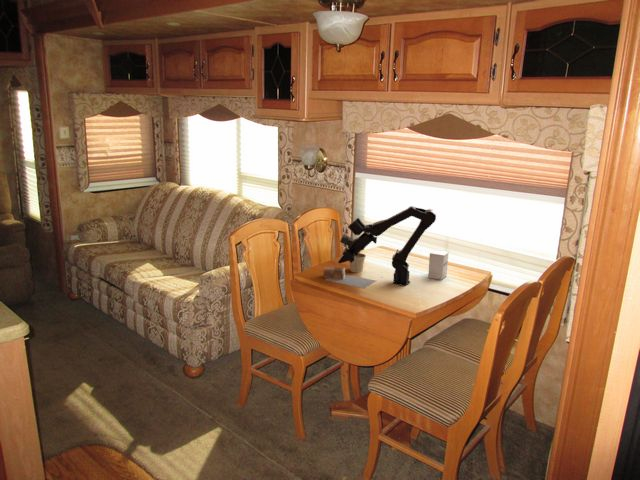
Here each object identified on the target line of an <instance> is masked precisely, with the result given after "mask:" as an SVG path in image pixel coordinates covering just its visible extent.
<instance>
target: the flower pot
mask: <svg viewBox="0 0 640 480" xmlns="http://www.w3.org/2000/svg"><path fill="white" fill-rule="evenodd" d="M354 255H355V254H354ZM366 257H367V255H366V253H361V252H359V253H358V255H357V256H356V255H355V260H354V261H353V262H352V263H351V262H350V261H348V262H349V263H348V264H349V269H350V270H349V271H350V272H351V273H362V272H363V269H364V266H365V265H364V263H365V259H366Z"/></svg>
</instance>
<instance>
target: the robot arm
mask: <svg viewBox="0 0 640 480" xmlns="http://www.w3.org/2000/svg"><path fill="white" fill-rule="evenodd" d="M411 217H413V218H416V219H418V220H420V221H419V222H418V223H419V224H418V225H417V226H416V228H415V229H414V231H413V233H412V234H411V236H410V237H409V238H408V240H407V242H406V243H405V244H404V246H403V247H402V248H401V249H400V250H399V249H397V248H396V252H395V253H394V254H392V258H391V260H392V261H391V266H392V268H393V269H394V273H393V281H392V284H394V285H397V286H398V285H400V286H404V287H406V286H407V285H409V284H410V283H411V281H410V270H409V266H410V265H409V263H408V262H407V259H408V256H409V254H410V253H411V252H412V251H413V248H415V245H416V244H417V243H418V242H419V240H420V238H421V237H422V236H423V234H424V233H425V232H426V230H427V229H429V228H430V227H431V226H432V225H433V224H434V223H435V222H436V221H437V213H436V211H435V210H434V209H431V208H429V209H424V208H421V207H420V208H419V207H415V206H413V205H410V206H409V207H408V208H406V209H405V210H402V211H400V212H398V213H396V214H394V215H392V216H391V217H388V218H387V219H382V220H378V221H375V222H373V223H371V224H370V223H368V224H365V223H363V221H362V220H361V218H359V217H357V218H355V220H353V221H352V222H350V224H349V225H347V228H348V229H349V230H350V231H351V233H352V234H354V236H358V237H357V238H352V237H351V236H349V235H347V234H343V235H342V236H341V239H340V241H339V243H341V244H344V245H346V246H347V247H345V248H344V249H343V252H342V255H341V257H340V259H339V260H338V264H343V263H346V262H349V261H350V262H351V263H352V262H353V261H354V260H355V255H356V256H357V255H358V253H361V252H362V251H364V250H365V248H366V247H367V246H368V245H370V244H371V243H372V242H373V243H374V244H377V242H378V240H377V239H378V237H379V236H381V235H383V234H384V233H385V232H386V231H387V230H388V229H390V228H391V227H393V226H395V225H397V224H399V223H400V222H403V221H405V220H407V219H409V218H411ZM354 254H355V255H354Z"/></svg>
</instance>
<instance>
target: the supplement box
mask: <svg viewBox="0 0 640 480" xmlns="http://www.w3.org/2000/svg"><path fill="white" fill-rule="evenodd" d="M428 260H429V261H428V262H429V263H428V273H427V275H428V276H427V277H428V278H430V279H434V280H441V281H442V280H443V279H445V278H446V277H447V275H448V265H449V264H448V263H449V252H448V251H442V250H433V251H432V252H430V253H429V259H428Z"/></svg>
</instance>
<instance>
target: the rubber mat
mask: <svg viewBox="0 0 640 480" xmlns="http://www.w3.org/2000/svg"><path fill="white" fill-rule="evenodd" d="M324 281H327V282H333V283H336V284H342V285H347V286H351V287H356V288H360V289H365V288H367V287H369V286H370V285H372V284H374V283H376V282H377V280H374V279H370V278H364V277H361V276H355V275H351V274H346V273H345V278H344V280H343V279H330V278H324Z"/></svg>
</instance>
